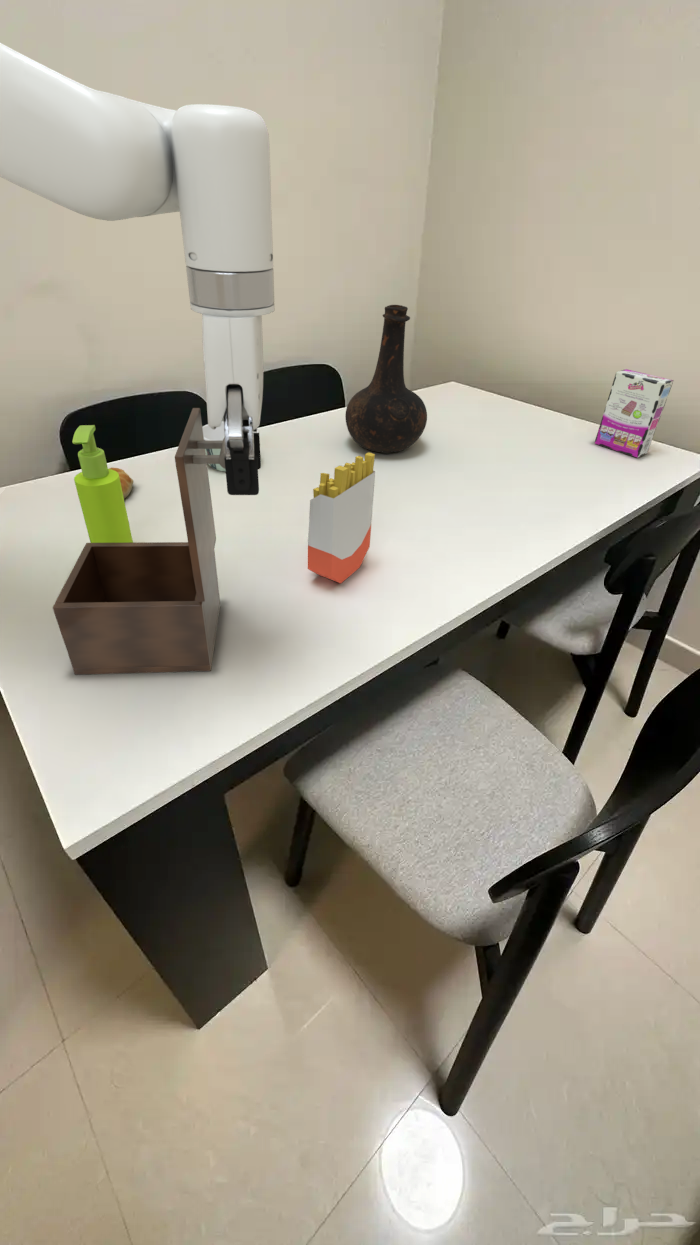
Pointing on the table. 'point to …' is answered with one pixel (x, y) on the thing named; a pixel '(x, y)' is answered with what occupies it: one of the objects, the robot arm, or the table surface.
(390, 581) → the table surface
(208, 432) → the food container
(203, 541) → the lid
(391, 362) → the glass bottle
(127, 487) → the pastry
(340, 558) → the french fries container
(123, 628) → the chest
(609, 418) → the candy bar box
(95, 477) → the soap dispenser
